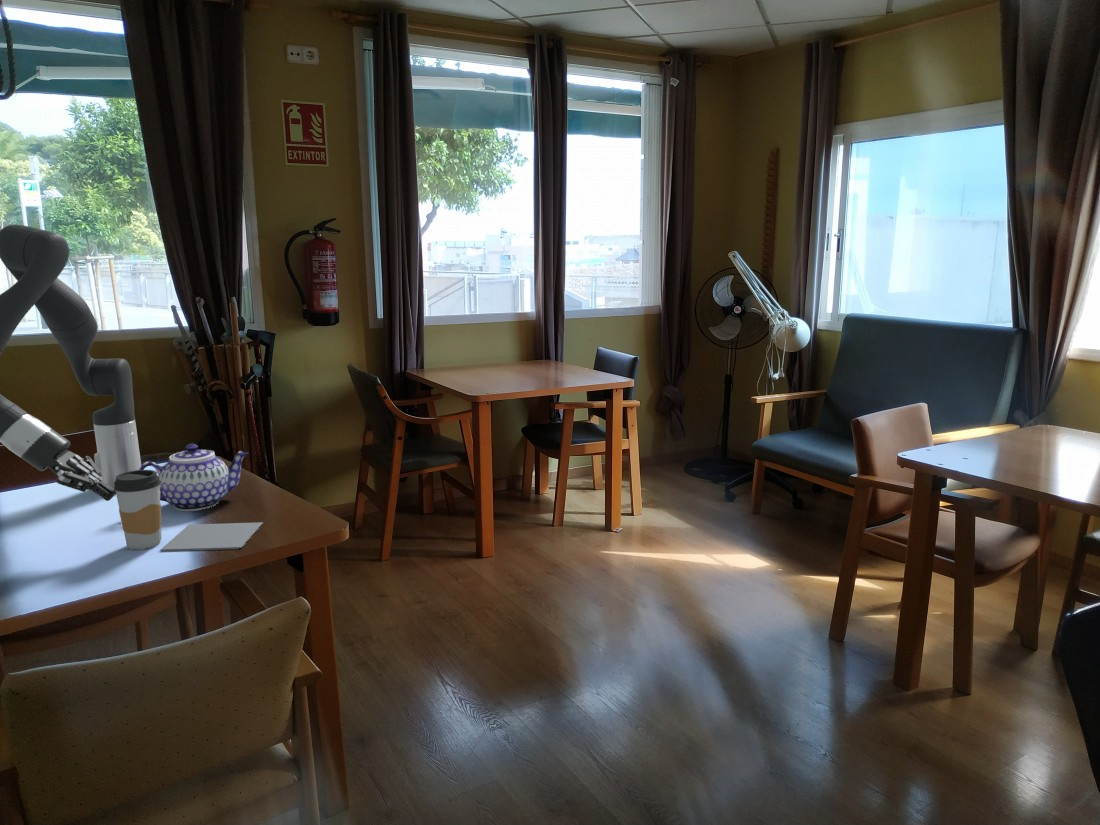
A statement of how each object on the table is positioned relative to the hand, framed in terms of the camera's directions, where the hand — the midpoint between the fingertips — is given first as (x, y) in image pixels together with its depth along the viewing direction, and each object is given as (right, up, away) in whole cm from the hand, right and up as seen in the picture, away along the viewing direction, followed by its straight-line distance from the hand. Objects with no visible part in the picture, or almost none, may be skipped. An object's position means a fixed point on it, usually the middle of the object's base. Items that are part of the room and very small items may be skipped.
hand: (112, 496), depth 151 cm
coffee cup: (+5, -10, +3) cm, 12 cm away
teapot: (+4, -5, +28) cm, 29 cm away
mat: (+17, -9, +7) cm, 21 cm away
